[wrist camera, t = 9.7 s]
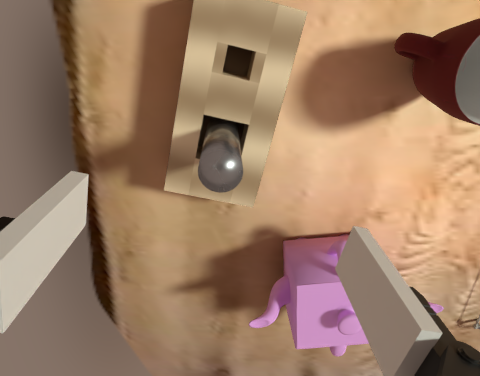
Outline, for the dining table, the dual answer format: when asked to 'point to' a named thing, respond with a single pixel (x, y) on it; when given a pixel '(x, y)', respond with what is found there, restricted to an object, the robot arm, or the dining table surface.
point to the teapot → (315, 296)
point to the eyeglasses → (477, 324)
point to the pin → (221, 156)
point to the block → (232, 88)
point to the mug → (447, 68)
